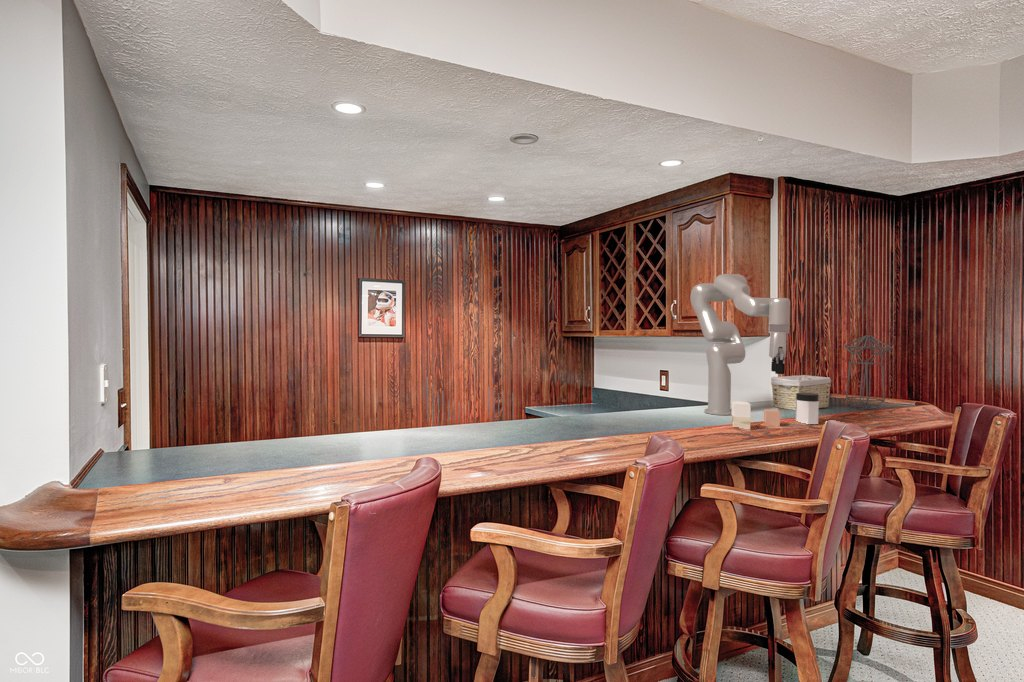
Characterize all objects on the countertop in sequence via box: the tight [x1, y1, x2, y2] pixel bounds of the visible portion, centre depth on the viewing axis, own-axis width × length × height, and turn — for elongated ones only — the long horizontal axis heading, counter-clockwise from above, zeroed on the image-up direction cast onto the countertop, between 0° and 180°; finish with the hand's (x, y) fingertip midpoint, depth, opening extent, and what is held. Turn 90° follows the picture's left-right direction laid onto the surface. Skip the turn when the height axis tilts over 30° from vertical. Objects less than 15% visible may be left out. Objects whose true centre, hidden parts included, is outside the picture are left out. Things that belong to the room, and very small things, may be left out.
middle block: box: [731, 401, 752, 417], centre depth 223 cm, size 6×6×5 cm
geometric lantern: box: [843, 334, 893, 410], centre depth 274 cm, size 16×16×35 cm
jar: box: [795, 393, 820, 425], centre depth 235 cm, size 9×8×12 cm
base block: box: [731, 415, 751, 430], centre depth 223 cm, size 6×6×5 cm
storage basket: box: [770, 374, 832, 411], centre depth 277 cm, size 24×16×15 cm
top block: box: [763, 408, 781, 427], centre depth 230 cm, size 5×5×6 cm
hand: (777, 372), depth 228 cm, fingers open, 9 cm apart
